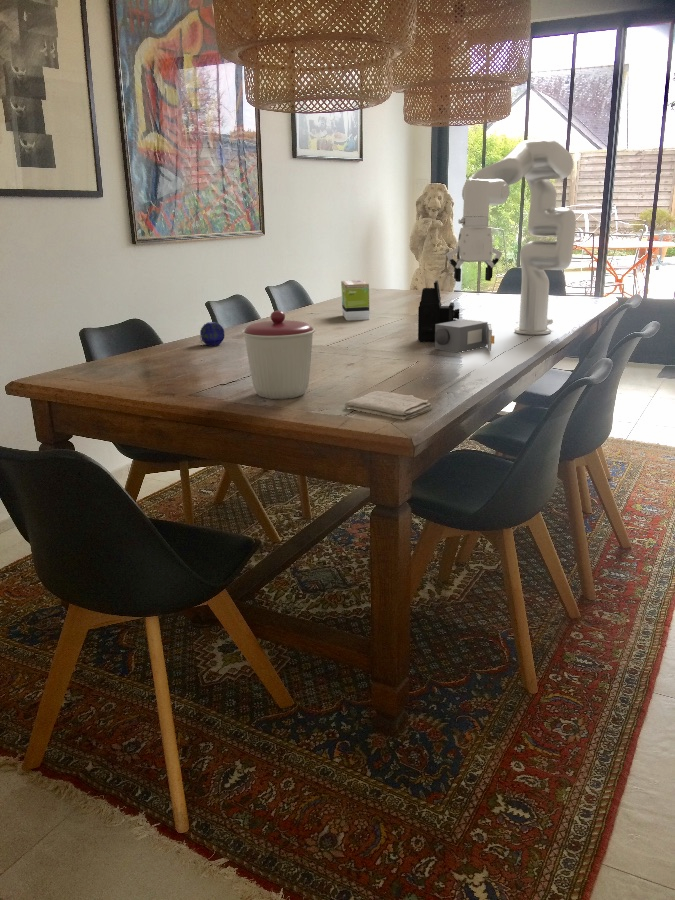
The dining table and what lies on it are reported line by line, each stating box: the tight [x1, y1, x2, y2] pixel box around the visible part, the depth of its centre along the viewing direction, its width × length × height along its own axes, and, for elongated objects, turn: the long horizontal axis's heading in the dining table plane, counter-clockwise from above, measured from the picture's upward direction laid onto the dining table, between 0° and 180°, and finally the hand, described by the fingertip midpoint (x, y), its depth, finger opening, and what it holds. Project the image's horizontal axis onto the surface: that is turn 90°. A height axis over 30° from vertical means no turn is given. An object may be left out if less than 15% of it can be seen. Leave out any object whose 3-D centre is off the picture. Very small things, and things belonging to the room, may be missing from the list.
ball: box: [199, 321, 225, 347], centre depth 258 cm, size 8×8×8 cm
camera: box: [417, 280, 460, 343], centre depth 254 cm, size 10×14×20 cm
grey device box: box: [434, 318, 489, 353], centre depth 242 cm, size 15×10×8 cm
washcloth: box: [344, 390, 433, 421], centre depth 174 cm, size 12×18×3 cm, turn 52°
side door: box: [486, 323, 495, 352], centre depth 237 cm, size 12×2×6 cm, turn 172°
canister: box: [241, 310, 316, 400], centre depth 186 cm, size 18×18×21 cm
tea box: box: [340, 279, 371, 321], centre depth 311 cm, size 15×10×15 cm
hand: (472, 281), depth 230 cm, fingers open, 9 cm apart
